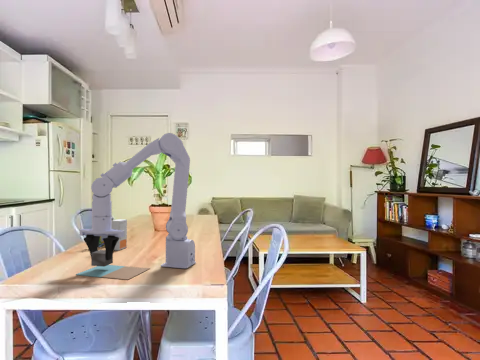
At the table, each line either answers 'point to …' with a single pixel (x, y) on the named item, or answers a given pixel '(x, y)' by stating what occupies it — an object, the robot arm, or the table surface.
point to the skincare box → (120, 225)
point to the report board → (114, 272)
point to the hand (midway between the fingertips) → (101, 259)
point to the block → (100, 258)
